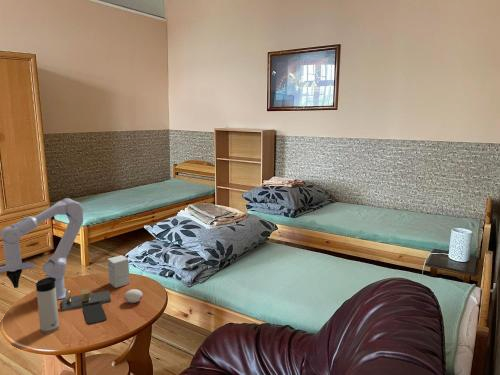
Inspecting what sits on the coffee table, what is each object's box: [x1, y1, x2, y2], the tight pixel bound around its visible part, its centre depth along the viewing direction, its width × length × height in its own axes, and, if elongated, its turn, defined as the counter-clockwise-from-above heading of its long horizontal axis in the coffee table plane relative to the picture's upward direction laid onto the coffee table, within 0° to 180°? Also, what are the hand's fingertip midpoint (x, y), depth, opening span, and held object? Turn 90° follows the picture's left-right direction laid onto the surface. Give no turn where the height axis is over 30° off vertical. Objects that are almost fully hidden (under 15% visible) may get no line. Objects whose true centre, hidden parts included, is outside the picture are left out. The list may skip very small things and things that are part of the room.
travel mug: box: [35, 277, 60, 334], centre depth 142 cm, size 6×7×20 cm
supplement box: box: [107, 254, 131, 289], centre depth 181 cm, size 7×7×13 cm
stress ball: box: [123, 288, 143, 306], centre depth 165 cm, size 8×8×7 cm
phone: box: [82, 303, 108, 326], centre depth 155 cm, size 7×1×15 cm
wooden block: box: [80, 288, 90, 302], centre depth 164 cm, size 5×3×3 cm, turn 25°
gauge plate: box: [61, 289, 112, 311], centre depth 164 cm, size 9×19×6 cm, turn 115°
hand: (16, 286), depth 157 cm, fingers closed
